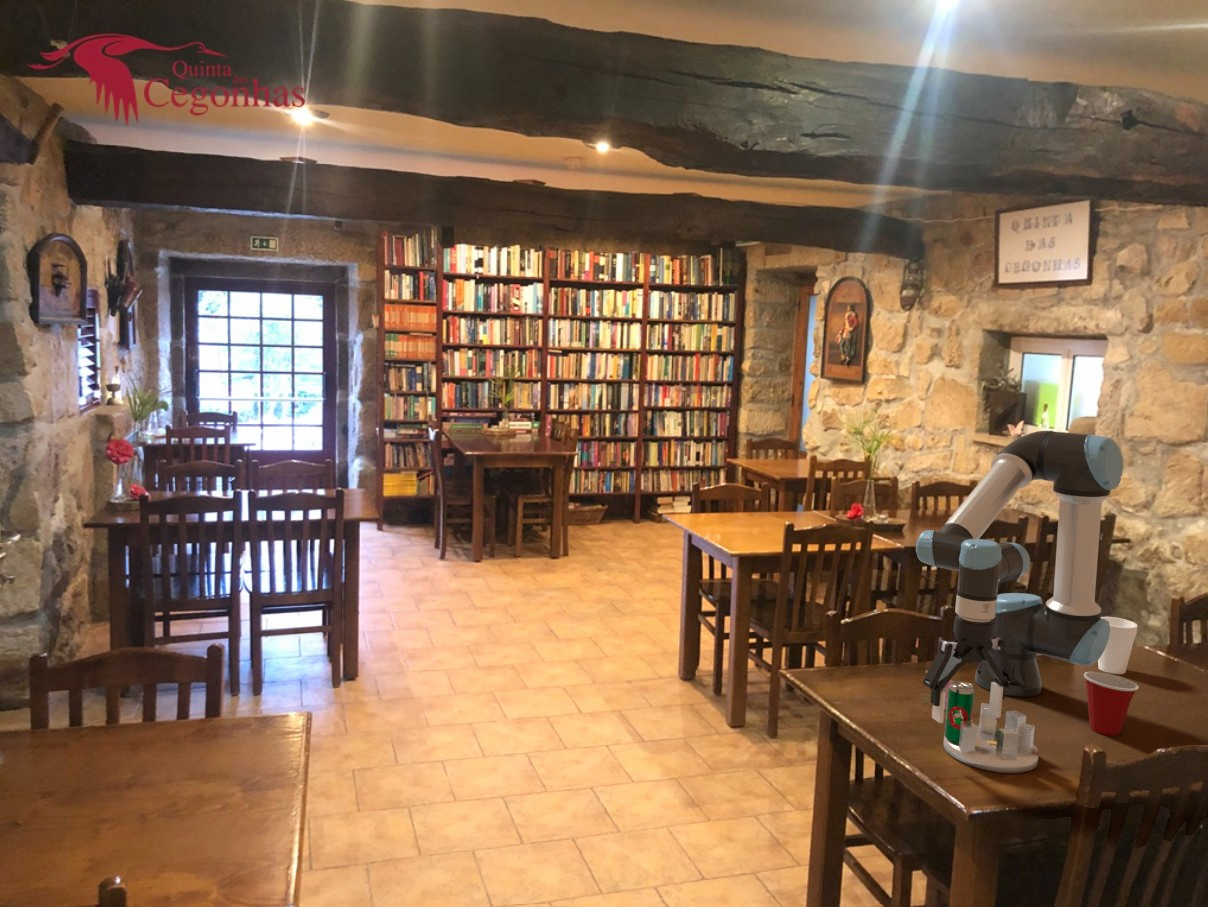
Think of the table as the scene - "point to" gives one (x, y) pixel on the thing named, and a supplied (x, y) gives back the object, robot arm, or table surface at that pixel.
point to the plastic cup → (1108, 701)
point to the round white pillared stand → (996, 743)
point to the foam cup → (1118, 645)
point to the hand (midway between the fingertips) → (966, 717)
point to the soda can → (958, 708)
